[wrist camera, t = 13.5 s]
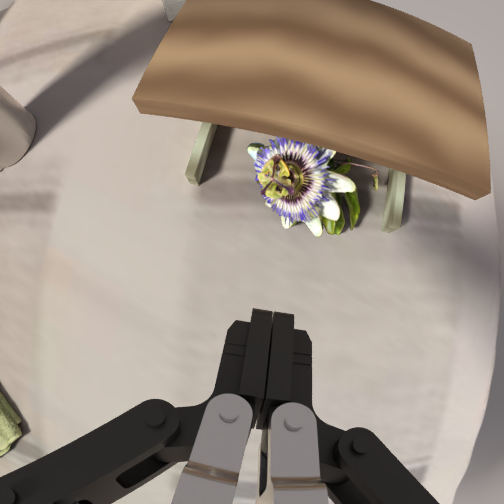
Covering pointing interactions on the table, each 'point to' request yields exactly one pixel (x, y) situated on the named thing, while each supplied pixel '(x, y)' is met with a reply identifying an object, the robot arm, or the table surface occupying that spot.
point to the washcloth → (8, 425)
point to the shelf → (327, 87)
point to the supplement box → (173, 8)
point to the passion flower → (306, 184)
